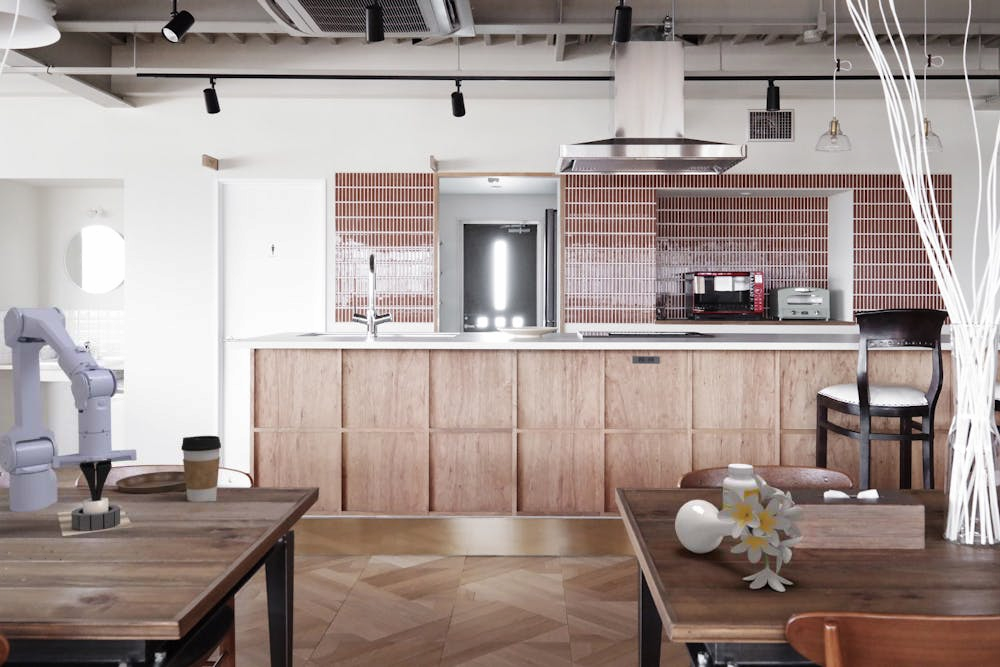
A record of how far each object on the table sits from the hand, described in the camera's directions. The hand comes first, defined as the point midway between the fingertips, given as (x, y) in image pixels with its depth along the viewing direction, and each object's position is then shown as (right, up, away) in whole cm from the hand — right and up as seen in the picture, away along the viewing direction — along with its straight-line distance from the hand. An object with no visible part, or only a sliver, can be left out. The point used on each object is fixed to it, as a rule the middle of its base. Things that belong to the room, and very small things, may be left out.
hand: (96, 500), depth 154 cm
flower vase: (+118, -7, -23) cm, 121 cm away
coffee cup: (+12, -6, +22) cm, 26 cm away
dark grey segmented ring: (0, -5, 0) cm, 5 cm away
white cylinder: (0, -5, 0) cm, 5 cm away
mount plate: (-3, -6, +4) cm, 8 cm away
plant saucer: (-4, -5, +35) cm, 36 cm away
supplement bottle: (+126, -6, -1) cm, 126 cm away
